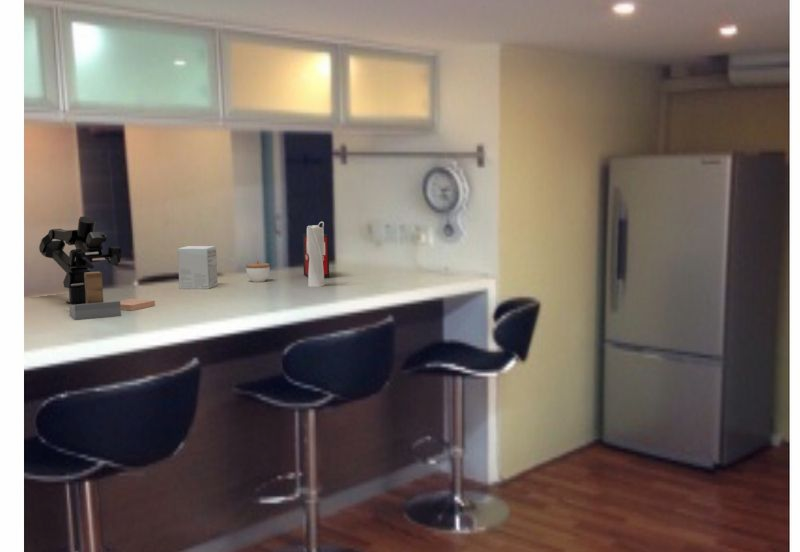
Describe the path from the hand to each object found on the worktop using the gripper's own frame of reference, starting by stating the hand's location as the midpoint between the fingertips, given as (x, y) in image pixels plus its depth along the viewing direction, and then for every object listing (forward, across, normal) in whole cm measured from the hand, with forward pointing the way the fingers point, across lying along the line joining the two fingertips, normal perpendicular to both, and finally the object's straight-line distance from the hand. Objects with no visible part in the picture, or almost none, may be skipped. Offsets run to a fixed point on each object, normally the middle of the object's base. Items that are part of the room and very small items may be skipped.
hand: (105, 266), depth 300 cm
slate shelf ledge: (+12, -8, +12) cm, 19 cm away
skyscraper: (+12, +92, +13) cm, 93 cm away
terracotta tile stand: (+6, +9, +15) cm, 18 cm away
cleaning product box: (-12, +112, +23) cm, 115 cm away
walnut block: (+12, -8, +10) cm, 17 cm away
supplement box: (-22, +55, +26) cm, 65 cm away
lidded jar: (-19, +84, +25) cm, 89 cm away
